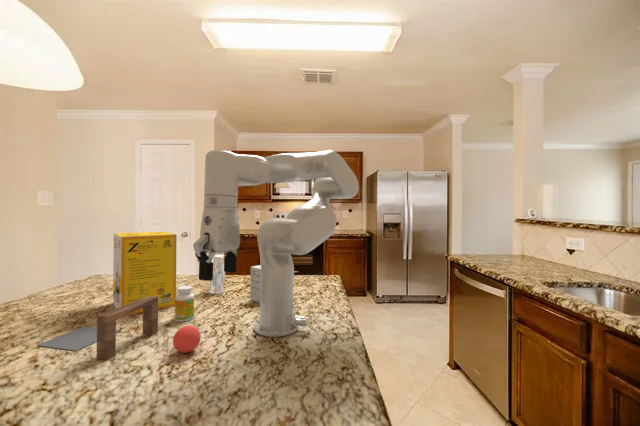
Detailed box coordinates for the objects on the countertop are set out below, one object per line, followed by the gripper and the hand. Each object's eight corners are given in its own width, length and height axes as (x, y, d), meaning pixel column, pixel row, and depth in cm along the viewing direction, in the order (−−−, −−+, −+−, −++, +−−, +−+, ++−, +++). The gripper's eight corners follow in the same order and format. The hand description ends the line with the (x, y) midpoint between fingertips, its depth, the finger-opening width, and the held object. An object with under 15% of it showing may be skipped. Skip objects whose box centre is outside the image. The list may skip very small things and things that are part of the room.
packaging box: (113, 303, 103) (113, 233, 103) (163, 295, 114) (164, 231, 113) (119, 316, 91) (120, 236, 91) (175, 305, 102) (176, 234, 101)
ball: (205, 347, 72) (205, 322, 72) (189, 359, 66) (190, 333, 66) (184, 344, 73) (184, 320, 73) (166, 356, 67) (167, 330, 67)
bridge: (157, 332, 80) (158, 297, 80) (107, 359, 65) (107, 316, 65) (148, 331, 80) (148, 296, 80) (96, 358, 66) (96, 315, 66)
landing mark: (120, 330, 81) (120, 330, 81) (76, 351, 69) (76, 350, 69) (85, 326, 83) (85, 325, 83) (36, 345, 71) (37, 344, 71)
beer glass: (208, 290, 121) (208, 254, 121) (225, 289, 123) (226, 254, 123) (207, 295, 114) (207, 257, 114) (225, 294, 116) (226, 256, 116)
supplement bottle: (186, 322, 87) (187, 290, 87) (170, 321, 88) (171, 289, 88) (197, 316, 92) (198, 285, 92) (182, 314, 93) (182, 284, 93)
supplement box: (264, 295, 116) (265, 263, 115) (277, 299, 111) (277, 266, 111) (249, 299, 110) (249, 266, 110) (262, 304, 105) (262, 269, 105)
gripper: (212, 202, 60) (210, 285, 60) (252, 205, 77) (250, 270, 76) (181, 201, 62) (179, 282, 62) (227, 204, 78) (225, 268, 78)
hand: (218, 275), depth 69 cm, fingers open, 9 cm apart
